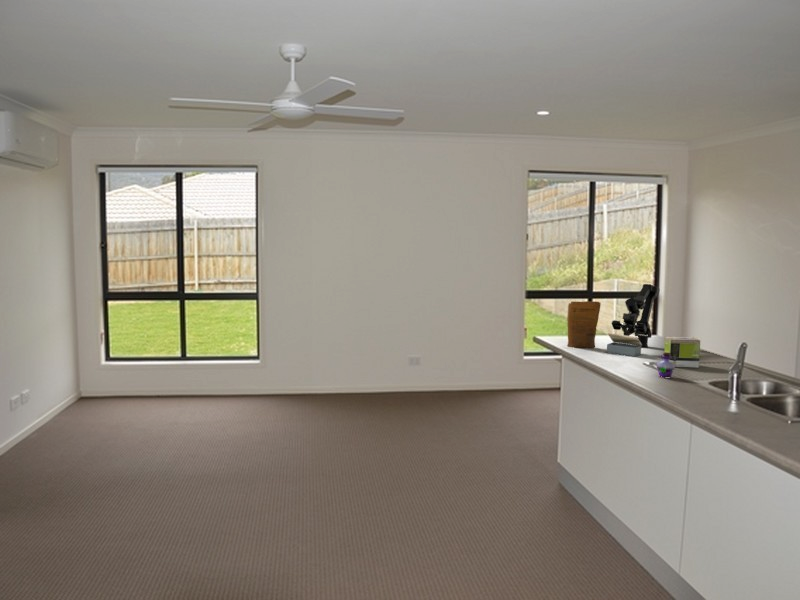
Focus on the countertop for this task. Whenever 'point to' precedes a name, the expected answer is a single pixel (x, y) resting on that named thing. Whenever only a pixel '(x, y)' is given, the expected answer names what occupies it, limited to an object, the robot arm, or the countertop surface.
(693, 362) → the tea box
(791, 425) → the countertop surface
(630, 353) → the slate box
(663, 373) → the potion bottle
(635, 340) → the birch lid
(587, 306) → the pancake mix bag
